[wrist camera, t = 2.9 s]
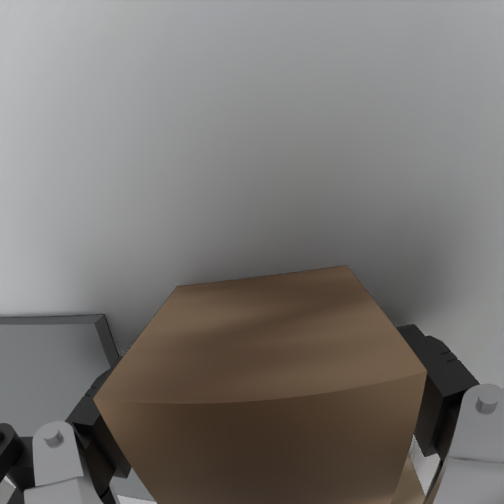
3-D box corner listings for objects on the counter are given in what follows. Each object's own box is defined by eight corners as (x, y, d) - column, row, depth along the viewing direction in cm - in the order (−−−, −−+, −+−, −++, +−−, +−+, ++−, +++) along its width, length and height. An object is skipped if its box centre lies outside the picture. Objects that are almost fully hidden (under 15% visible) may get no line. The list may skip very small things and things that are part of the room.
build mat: (104, 314, 11) (94, 323, 10) (185, 494, 13) (182, 505, 13) (-42, 317, 12) (-50, 322, 11) (37, 462, 14) (33, 469, 14)
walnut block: (345, 264, 10) (427, 370, 4) (348, 396, 11) (383, 520, 5) (177, 285, 10) (93, 398, 5) (210, 410, 12) (181, 533, 6)
